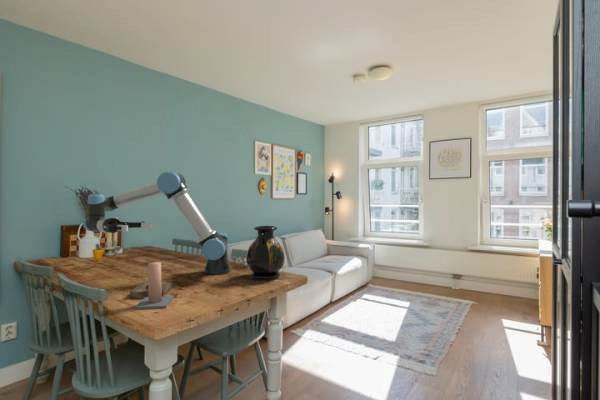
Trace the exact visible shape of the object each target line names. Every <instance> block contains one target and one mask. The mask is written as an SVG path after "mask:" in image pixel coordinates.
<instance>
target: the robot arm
mask: <svg viewBox="0 0 600 400" xmlns="http://www.w3.org/2000/svg"><path fill="white" fill-rule="evenodd" d="M186 182H187V181H186V179H185V176H183V175H182V174H180V173H178V172H175V171H172V170H169V171H164V172H162V173H161V174H160V175H158V177H157V180H156V182H153V183H150V184H148V185H144V186H141V187H138V188H134V189H132V190H127V191H124V192H121V193H118V194H115V195H110V196H108V197H105V195H104V194H88V196H87V202H86V203H87V218H86V217H85V219H84V221H83V224H82V226H83V228H84V230H86V231H88V232H94V233H104V234H107V233H110V234H111V233H113V234H115V233H118V232H129V229H130V228H131V229H133V228H134V229H135V228H137V229H138V228H139V229H140V228H141V229H152V227H153V224H152V222H145V221H143V220H142V221H141V222H140V221H139V222H138V221H135V222H134V221H120V220H119V219H118V218H116V217H105V216H106V212H113V211H115V210H117V209H120V208H123V207H127V206H129V205H133V204H136V203H140V202H143V201H145V200H149V199H152V198H155V197H159V196H162V195H163V196H166V198H167V200H168V201H170V202H173V203H174V204H175V206H176V207H177V209H178V210H179V212H180V214H181V215H182V216H183V218H184V219H185V220H186V222H187V224H188V225H189V227H190V229H192V231H193V233H194V234H195V236H196V237H197V244H198V245H199V247H200V248H201V252H202V255H203V256H204V257H205V258H206V262H205V264H204V265H205V266H204V269H203V271H204V272H203V273H205V275H212V276H213V275H214V276H215V275H225V274H227V273H230V272H231V265H230V262H229V259H228V258H229V257H228V239H229V238H228V237H229V236H228V234H227V233H226V232H218V231H217V230H215V229H213V228H212V227H211V225H209V223H208V222H207V219H206V218H205V217H204V215H203V213H202V212H201V210H200V209H199V207H198V206H197V205H196V203H195V201H194V200H193V199H192V197H191V196H190V194H189V187H188V186H187V185H186Z"/></svg>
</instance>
